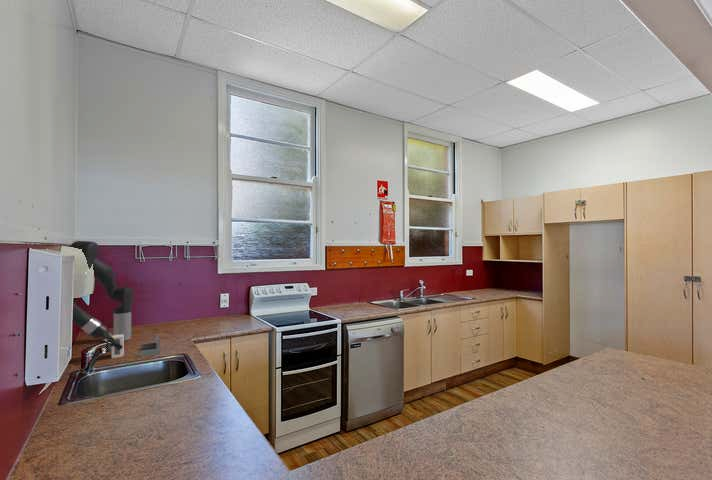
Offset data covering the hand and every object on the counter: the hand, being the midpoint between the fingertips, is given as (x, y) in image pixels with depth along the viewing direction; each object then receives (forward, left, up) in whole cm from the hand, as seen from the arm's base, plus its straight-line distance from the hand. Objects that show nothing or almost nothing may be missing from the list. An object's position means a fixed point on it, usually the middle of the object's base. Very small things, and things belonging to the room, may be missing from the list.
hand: (121, 346), depth 189 cm
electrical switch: (-14, -7, -5) cm, 16 cm away
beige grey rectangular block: (0, -2, -5) cm, 5 cm away
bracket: (0, +13, -5) cm, 14 cm away
